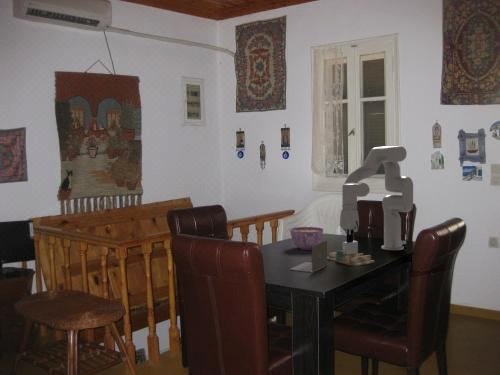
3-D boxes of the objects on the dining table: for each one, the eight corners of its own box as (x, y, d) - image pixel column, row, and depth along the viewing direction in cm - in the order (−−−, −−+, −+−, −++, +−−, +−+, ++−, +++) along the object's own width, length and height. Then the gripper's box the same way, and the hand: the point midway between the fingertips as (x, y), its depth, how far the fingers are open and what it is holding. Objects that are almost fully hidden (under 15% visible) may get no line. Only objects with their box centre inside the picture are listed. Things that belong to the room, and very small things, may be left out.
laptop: (305, 263, 265) (304, 238, 264) (327, 265, 258) (327, 240, 258) (289, 270, 250) (289, 244, 249) (312, 273, 243) (312, 246, 242)
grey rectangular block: (342, 259, 267) (342, 242, 267) (353, 257, 271) (353, 240, 271) (346, 260, 265) (346, 243, 264) (357, 258, 269) (357, 241, 268)
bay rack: (345, 255, 281) (345, 244, 280) (374, 262, 262) (374, 251, 262) (325, 258, 274) (325, 247, 273) (354, 266, 255) (354, 254, 254)
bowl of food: (313, 253, 289) (312, 233, 289) (283, 249, 301) (283, 230, 301) (329, 247, 305) (329, 228, 304) (301, 244, 317) (301, 226, 317)
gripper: (334, 206, 270) (335, 240, 272) (354, 208, 258) (354, 244, 259) (345, 205, 274) (345, 239, 276) (365, 207, 262) (365, 243, 263)
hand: (349, 241), depth 267 cm, fingers closed
